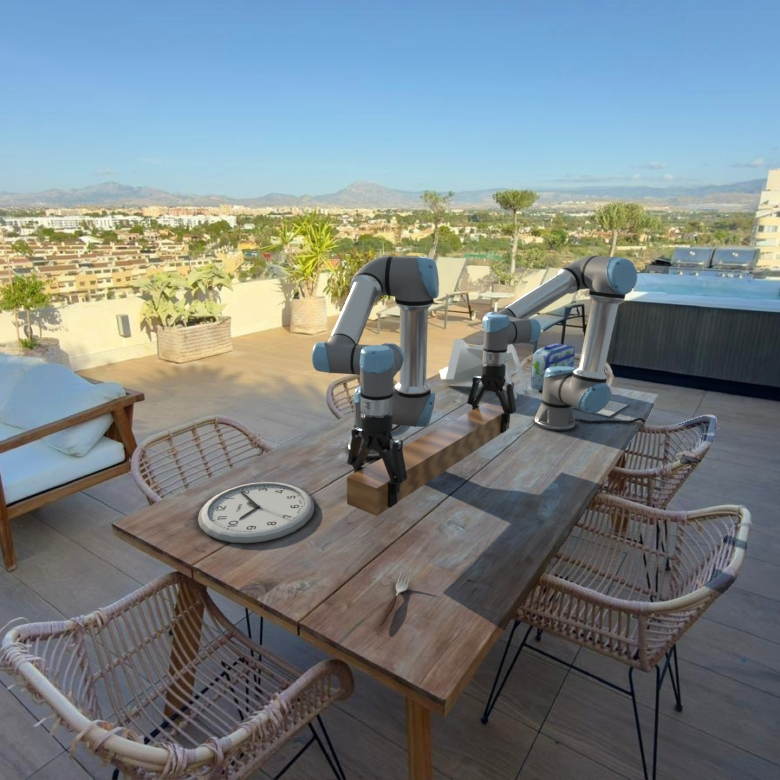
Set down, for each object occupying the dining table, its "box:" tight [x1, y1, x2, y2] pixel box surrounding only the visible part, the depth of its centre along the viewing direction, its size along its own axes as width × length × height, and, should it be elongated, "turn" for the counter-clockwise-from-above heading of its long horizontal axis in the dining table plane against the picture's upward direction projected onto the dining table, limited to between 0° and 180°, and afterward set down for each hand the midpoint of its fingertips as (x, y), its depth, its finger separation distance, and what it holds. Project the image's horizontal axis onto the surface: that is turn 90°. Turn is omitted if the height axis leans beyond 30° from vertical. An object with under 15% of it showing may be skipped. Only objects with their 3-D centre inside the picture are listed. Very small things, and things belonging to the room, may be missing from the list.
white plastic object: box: [438, 310, 531, 400], centre depth 245 cm, size 37×45×31 cm
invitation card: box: [573, 400, 629, 418], centre depth 226 cm, size 21×1×15 cm
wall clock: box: [197, 481, 315, 544], centre depth 139 cm, size 30×2×30 cm
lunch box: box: [530, 343, 576, 391], centre depth 249 cm, size 26×11×21 cm, turn 134°
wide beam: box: [346, 402, 511, 517], centre depth 150 cm, size 72×9×7 cm, turn 143°
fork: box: [379, 570, 413, 627], centre depth 106 cm, size 3×16×2 cm, turn 160°
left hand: (376, 498), depth 128 cm, fingers closed on wide beam, 9 cm apart
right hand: (489, 428), depth 175 cm, fingers closed on wide beam, 9 cm apart
